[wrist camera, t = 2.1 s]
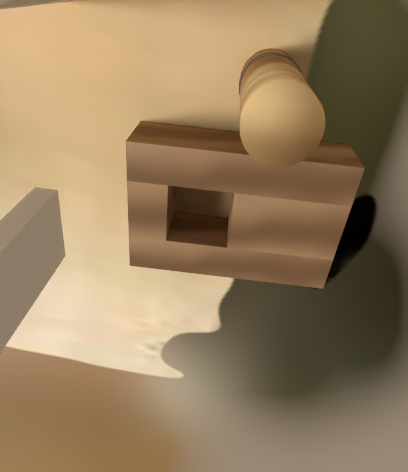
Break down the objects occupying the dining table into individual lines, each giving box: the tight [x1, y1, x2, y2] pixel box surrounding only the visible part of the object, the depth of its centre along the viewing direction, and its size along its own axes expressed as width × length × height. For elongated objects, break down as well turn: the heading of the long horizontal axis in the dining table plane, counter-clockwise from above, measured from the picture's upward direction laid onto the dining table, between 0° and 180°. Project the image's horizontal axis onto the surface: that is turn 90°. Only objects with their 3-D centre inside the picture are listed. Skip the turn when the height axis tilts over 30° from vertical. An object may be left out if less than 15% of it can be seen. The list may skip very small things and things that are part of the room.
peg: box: [239, 49, 325, 167], centre depth 24 cm, size 4×4×14 cm
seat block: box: [126, 121, 365, 289], centre depth 34 cm, size 12×18×5 cm, turn 85°
